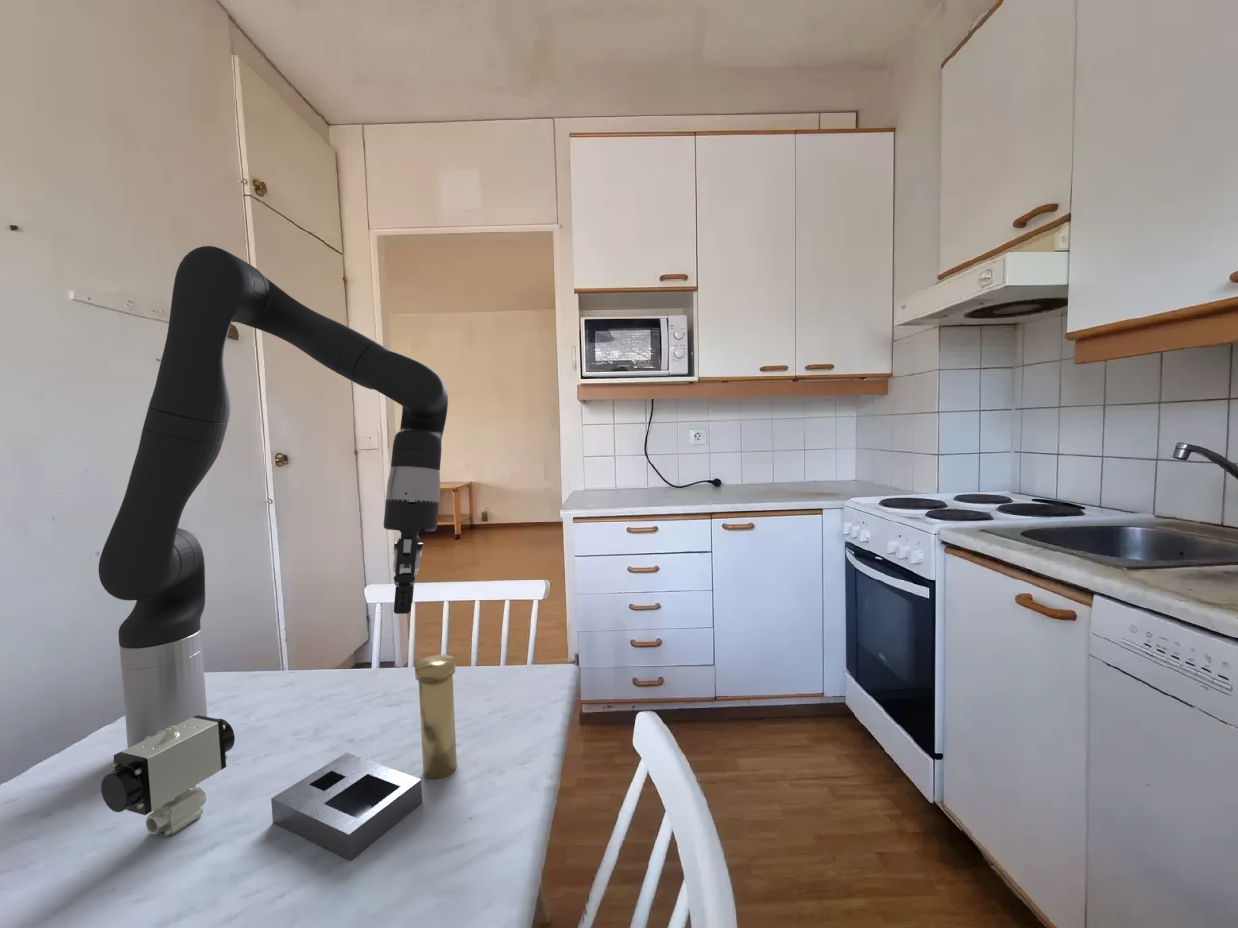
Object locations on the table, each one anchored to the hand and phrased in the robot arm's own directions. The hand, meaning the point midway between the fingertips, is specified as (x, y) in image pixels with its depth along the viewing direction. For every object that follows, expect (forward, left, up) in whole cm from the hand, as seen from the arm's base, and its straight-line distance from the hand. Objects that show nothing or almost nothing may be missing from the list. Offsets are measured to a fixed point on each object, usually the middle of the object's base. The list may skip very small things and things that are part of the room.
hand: (403, 608), depth 78 cm
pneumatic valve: (-14, -24, -21) cm, 34 cm away
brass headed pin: (+8, -3, -21) cm, 23 cm away
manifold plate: (+4, -14, -21) cm, 25 cm away
